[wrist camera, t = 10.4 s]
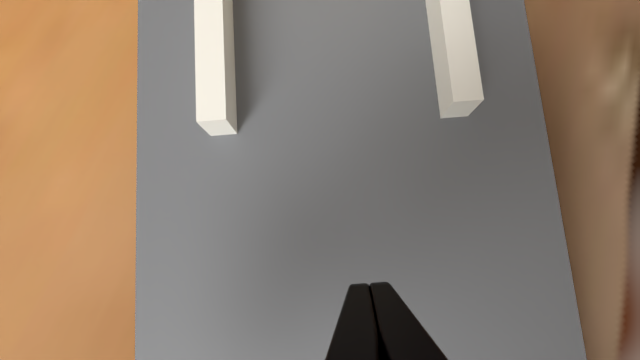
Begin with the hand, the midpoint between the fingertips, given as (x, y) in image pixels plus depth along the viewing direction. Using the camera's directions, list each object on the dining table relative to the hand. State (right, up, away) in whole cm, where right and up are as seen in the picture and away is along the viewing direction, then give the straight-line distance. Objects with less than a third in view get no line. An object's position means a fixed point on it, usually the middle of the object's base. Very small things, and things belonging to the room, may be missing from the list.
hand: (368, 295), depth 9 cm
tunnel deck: (-1, +13, +15) cm, 19 cm away
